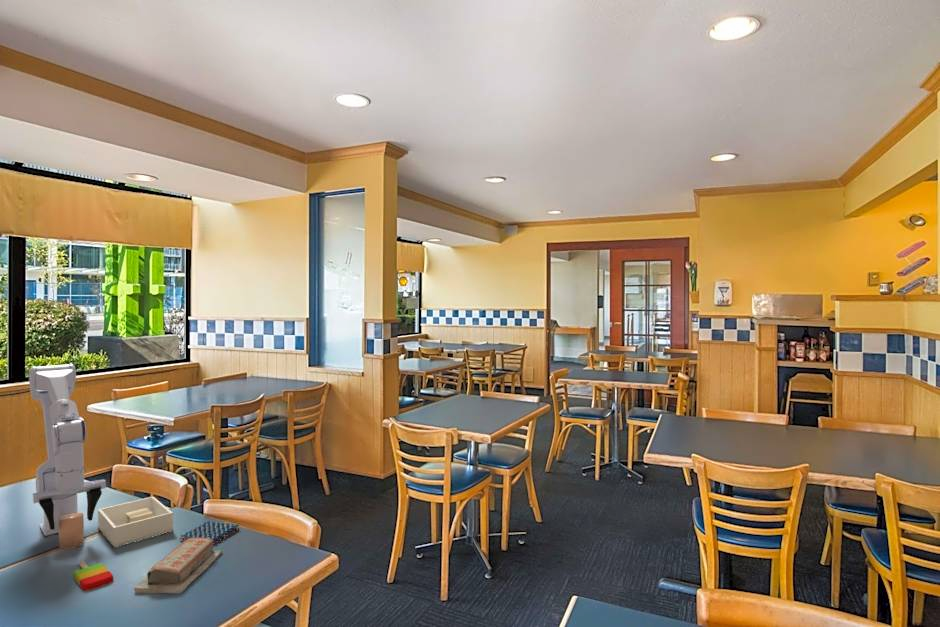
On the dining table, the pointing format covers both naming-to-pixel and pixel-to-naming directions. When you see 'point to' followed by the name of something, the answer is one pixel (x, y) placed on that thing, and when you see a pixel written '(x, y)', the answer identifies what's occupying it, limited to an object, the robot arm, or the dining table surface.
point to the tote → (122, 533)
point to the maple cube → (138, 515)
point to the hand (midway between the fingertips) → (71, 523)
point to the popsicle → (92, 576)
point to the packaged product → (179, 567)
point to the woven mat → (211, 531)
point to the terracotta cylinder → (71, 530)
